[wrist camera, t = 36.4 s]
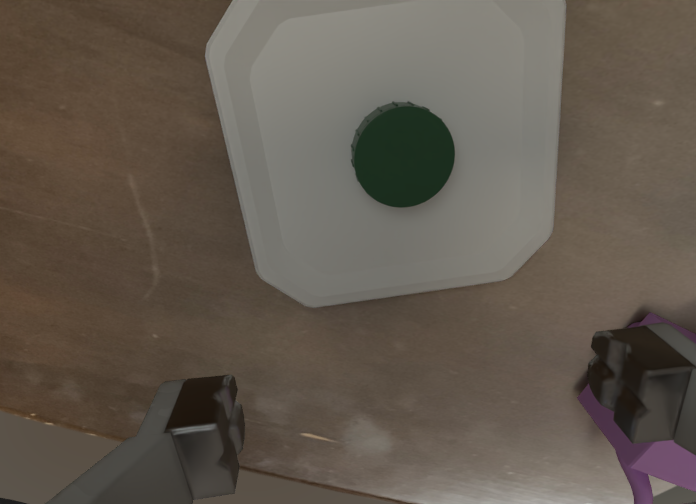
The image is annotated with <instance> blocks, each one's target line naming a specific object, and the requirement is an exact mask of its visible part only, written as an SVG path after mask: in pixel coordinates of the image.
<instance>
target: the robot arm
mask: <svg viewBox="0 0 696 504" xmlns="http://www.w3.org/2000/svg"><path fill="white" fill-rule="evenodd" d="M591 348H592V349H593V351H594V352H595V353H596V356H595V357H594V358H593V359H592V360H591V361H590V362H589V364H588V374H587V377H588V381H589V386H590V389H591V391H592V393H593V395H594V397H595V398H596V399H597V401H598V402H599V403H600V405H602V406H604V407H606V408H608V409H610V410H611V411H613V412H614V418H613V421H614V422H615V423H616V424H617V425H618V427H619V428H620V429H621V430H622V431H623V433H624V434H625V435H626V436H627V438H628V439H629V440H630V441H631V442H632V444H637V443H647V442H657V441H668V440H674V441H673V442H674V443H676V444H678V445H679V446H681V447H682V448H684V449H686V450H687V451H689V452H691V453H692V454H694V455H696V344H695V343H694V342H693V341H691V340H690V339H689V338H688V337H686V336H685V335H684V334H682V333H681V332H680V331H678V330H677V329H676V328H674V327H673V326H672V325H670V324H667V323H664V322H661V323H654V324H648V325H641V326H639V327H631V328H623V329H615V330H607V331H599V332H596V333H595V335H594V336H593V338H592V344H591ZM237 391H238V388H237V385H236V381H235V377H234V376H232V375H222V376H212V377H202V378H191V379H187V380H186V379H183V380H174V381H165V382H164V383H162V384H161V385H160V386H159V388H158V390H157V393H156V395H155V397H154V399H153V401H152V403H151V405H150V407H149V410H148V412H147V414H146V416H145V418H144V420H143V422H142V424H141V427H140V429H139V431H138V433H137V435H136V437H130V438H128V439H126V440H125V441H124V442H122V443H121V444H120V445H119V446H117V447H116V448H115V449H114V450H112V451H111V452H110V453H109V454H107V455H106V456H105V457H104V458H102V459H101V460H100V461H98V462H97V463H96V464H95V465H94V466H92V467H91V468H90V469H88V470H87V471H86V472H85V473H83V474H82V475H81V476H80V477H78V478H77V479H76V480H75V481H73V482H72V483H71V484H69V485H68V486H67V487H66V488H65V489H63V490H62V491H61V492H59V493H58V494H57V495H56V496H54V497H53V498H52V499H51V500H49V501H48V502H47V503H45V504H192V503H193V500H195V499H202V498H209V497H215V496H222V495H228V494H234V493H235V489H236V483H237V478H238V473H239V467H240V465H239V461H238V457H237V455H238V454H239V453H240V452H241V450H242V449H243V445H244V439H245V422H244V414H243V409H242V405H241V404H239V403H238V402H237V401H236V395H237ZM684 504H696V502H692V503H684Z"/></svg>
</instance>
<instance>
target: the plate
mask: <svg viewBox="0 0 696 504" xmlns="http://www.w3.org/2000/svg"><path fill="white" fill-rule="evenodd" d="M566 6H567V5H566V2H565V0H233V1H232V3H231V4H230V6H229V8H228V9H227V11H226V13H225V14H224V16H223V18H222V19H221V21H220V23H219V24H218V26H217V28H216V29H215V31H214V33H213V34H212V36H211V38H210V39H209V41H208V43H207V45H206V53H205V59H206V63H207V67H208V71H209V76H210V80H211V84H212V88H213V93H214V97H215V101H216V105H217V109H218V114H219V118H220V122H221V126H222V130H223V135H224V139H225V143H226V147H227V152H228V156H229V160H230V164H231V168H232V173H233V177H234V181H235V185H236V190H237V194H238V198H239V202H240V206H241V211H242V215H243V219H244V223H245V228H246V232H247V236H248V240H249V244H250V249H251V253H252V257H253V261H254V265H255V270H256V273H257V274H258V275H259V277H260V278H261V279H262V280H263V281H265V282H266V283H268V284H270V285H271V286H273V287H275V288H276V289H278V290H279V291H281V292H283V293H284V294H286V295H288V296H289V297H291V298H292V299H294V300H296V301H297V302H299V303H300V304H302V305H304V306H306V307H311V308H318V307H325V306H332V305H339V304H346V303H353V302H360V301H367V300H373V299H380V298H387V297H394V296H401V295H408V294H415V293H422V292H429V291H436V290H443V289H450V288H457V287H464V286H471V285H478V284H485V283H492V282H499V281H504V280H506V279H508V278H510V277H512V276H513V275H514V274H515V273H516V272H517V271H518V270H519V269H520V268H521V267H522V266H523V265H524V264H525V263H526V262H527V261H528V260H529V259H530V257H531V256H532V255H533V254H534V253H535V252H536V251H537V250H538V249H539V248H540V247H541V246H542V245H543V244H544V243H545V242H546V241H547V240H548V239H549V238H550V236H551V234H552V232H553V229H554V212H555V195H556V178H557V160H558V143H559V126H560V109H561V92H562V75H563V58H564V41H565V23H566ZM393 101H394V102H408V101H409V102H411V103H413V104H416V105H418V106H421V107H422V106H424V107H426V108H428V109H430V112H432V113H433V114H435V115H436V116H437V117H439V118H441V119H442V121H443V122H444V123H445V125H446V126H447V128H448V129H449V131H450V133H451V135H452V138H453V142H454V147H455V161H454V166H453V169H452V172H451V175H450V177H449V179H448V181H447V182H446V184H445V185H444V186H443V188H442V189H441V190H440V191H439V192H438V193H437V194H436V195H435V196H433V197H432V198H431V199H429V200H427V201H426V202H424V203H421V204H419V205H416V206H412V207H403V208H399V207H391V206H387V205H384V204H382V203H380V202H378V201H376V200H375V199H373V198H372V197H371V196H369V195H368V194H367V193H366V191H365V190H364V189H363V188H362V186H361V184H360V183H359V182H358V181H357V178H356V175H355V173H356V172H355V169H354V167H353V166H352V163H351V159H352V151H351V150H352V148H351V144H352V142H353V138H354V135H355V133H356V131H355V130H356V129H358V127H359V125H360V124H361V122H362V121H363V120H364V119H365V118H364V117H365V116H366V117H367V116H368V115H369V114H370V113H371V112H372V111H374V110H376V109H377V107H381V106H383V105H386V104H389V103H392V102H393Z"/></svg>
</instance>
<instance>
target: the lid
mask: <svg viewBox="0 0 696 504" xmlns="http://www.w3.org/2000/svg"><path fill="white" fill-rule="evenodd" d="M364 118H365V119H364V120H363V121H362V122H361V124H360V125H359V127H358V129H356V130H355V131H356V133H355V135H354V138H353V142H352V144H351V148H352V150H351V151H352V159H351V163H352V166H353V167H354V169H355V172H356V173H355V175H356V178H357V181H358V182H359V183H360V184H361V186H362V188H363V189H364V190H365V191H366V193H367V194H368V195H369V196H371V197H372V198H373V199H375V200H376V201H378V202H380V203H382V204H384V205H387V206H391V207H399V208H403V207H412V206H416V205H419V204H421V203H424V202H426V201H427V200H429V199H431V198H432V197H433V196H435V195H436V194H437V193H438V192H439V191H440V190H441V189H442V188H443V186H444V185H445V184H446V182H447V181H448V179H449V177H450V175H451V172H452V169H453V166H454V161H455V147H454V142H453V138H452V135H451V133H450V131H449V129H448V128H447V126H446V125H445V123H444V122H443V121H442V119H441V118H439V117H437V116H436V115H435V114H433V113H432V112H430V109H428V108H426V107H424V106H422V107H421V106H418V105H416V104H413V103H411V102H409V101H408V102H394V101H393V102H392V103H389V104H386V105H383V106H381V107H377V109H376V110H374V111H372V112H371V113H370V114H369V115H368V116H367V117H366V116H365V117H364Z"/></svg>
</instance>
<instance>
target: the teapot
mask: <svg viewBox="0 0 696 504" xmlns="http://www.w3.org/2000/svg"><path fill="white" fill-rule="evenodd" d="M661 322H664V323H667V324H670V325H672V326H673V327H674V328H676V329H677V330H678V331H680V332H681V333H682V334H684V335H685V336H686V337H688V338H689V339H690V340H691V341H693V342H694V343H695V344H696V334H695V333H693V332H691V331H689V330H687V329H684V328H682V327H680V326H678V325H676V324H674V323H672V322H670V321H668V320H666V319H664V318H662V317H659V316H657V315H655V314H653V313H651V312H649V314H648V315H647V316H646V317H645V318H644V319H643V321H642V322H636V323H633V324H631V325H630V326H628V327H627V328H631V327H639V326H641V325H648V324H654V323H661ZM577 399H578V400H579V401H580V403H581V404H582V405H583V407H584V408H585V409H586V411H587V412H588V413H589V415H590V416H591V418H592V419H593V420H594V422H595V423H596V424H597V426H598V427H599V428H600V430H601V431H602V432H603V434H604V435H605V436H606V438H607V439H608V440H609V442H610V443H611V444H612V446H613V447H614V448H615V450H616V454H617V457H618V460H619V462H620V464H621V467H622V469H623V471H624V473H625V475H626V477H627V479H628V481H629V483H630V486H631V488H632V491H633V496H634V504H653V494H652V489H651V485H650V481H649V477H648V474H649V475H651V476H654V477H657V478H659V479H662V480H664V481H667V482H670V483H673V484H675V485H678V486H681V487H684V488H686V489H689V490H692V491H695V492H696V455H694V454H692V453H691V452H689V451H687V450H686V449H684V448H682V447H681V446H679V445H678V444H676V443H674V442H673V441H674V440H668V441H657V442H647V443H637V444H632V442H631V441H630V440H629V439H628V438H627V436H626V435H625V434H624V433H623V431H622V430H621V429H620V428H619V427H618V425H617V424H616V423H615V422H614V421H613V418H614V412H613V411H611V410H610V409H608V408H606V407H604V406H602V405H600V403H599V402H598V401H597V399H596V398H595V397H594V395H593V393H592V391H591V389H590V386H589V384H588V385H587V386H586V388H585V389H584V390H583V391H582V392H581V394H580V395H579V396H578V397H577Z"/></svg>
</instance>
